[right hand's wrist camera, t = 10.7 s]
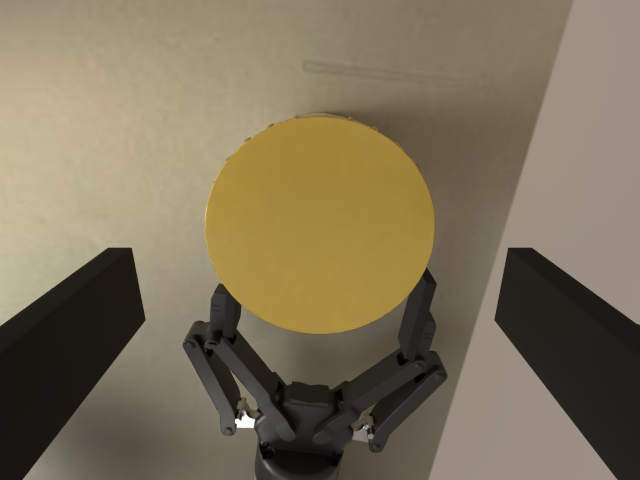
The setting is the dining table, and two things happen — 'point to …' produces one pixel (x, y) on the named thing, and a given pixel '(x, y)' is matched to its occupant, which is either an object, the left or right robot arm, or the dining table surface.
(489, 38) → the dining table surface
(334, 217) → the lid
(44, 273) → the dining table surface
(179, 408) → the dining table surface
